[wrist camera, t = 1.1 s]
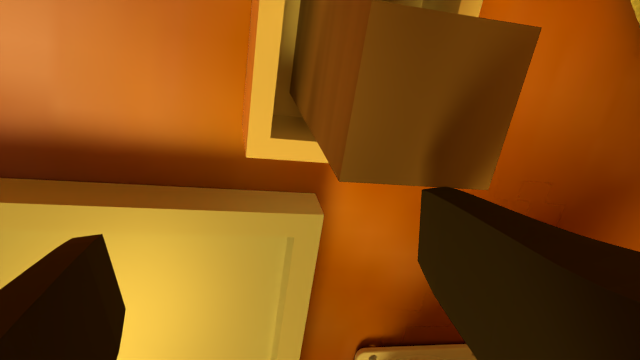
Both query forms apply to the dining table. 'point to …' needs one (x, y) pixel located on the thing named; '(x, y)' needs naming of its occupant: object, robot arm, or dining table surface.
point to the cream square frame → (181, 261)
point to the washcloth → (636, 8)
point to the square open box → (275, 77)
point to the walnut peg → (408, 90)
